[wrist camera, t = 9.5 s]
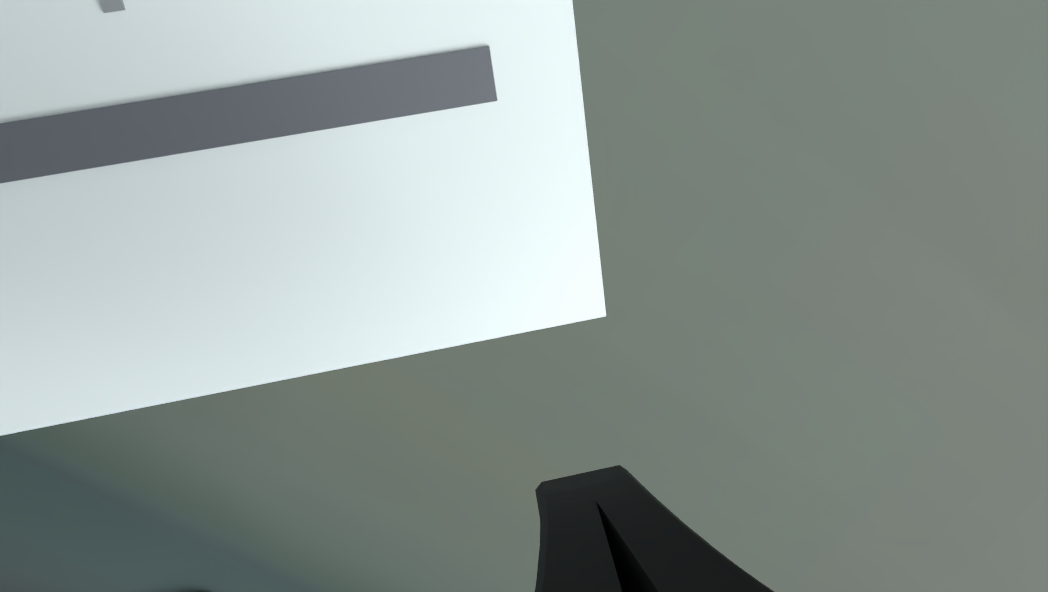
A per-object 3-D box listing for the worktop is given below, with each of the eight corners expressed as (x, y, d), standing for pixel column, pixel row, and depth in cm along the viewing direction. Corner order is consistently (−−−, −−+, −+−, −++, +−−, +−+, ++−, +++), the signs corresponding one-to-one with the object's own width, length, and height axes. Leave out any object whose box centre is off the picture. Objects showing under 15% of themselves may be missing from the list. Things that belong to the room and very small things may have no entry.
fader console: (588, 289, 21) (607, 317, 20) (-280, 456, 19) (-355, 507, 17) (525, -251, 17) (542, -286, 15) (-650, -110, 14) (-814, -128, 12)
